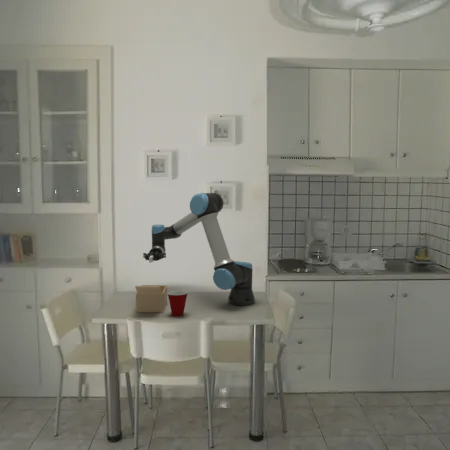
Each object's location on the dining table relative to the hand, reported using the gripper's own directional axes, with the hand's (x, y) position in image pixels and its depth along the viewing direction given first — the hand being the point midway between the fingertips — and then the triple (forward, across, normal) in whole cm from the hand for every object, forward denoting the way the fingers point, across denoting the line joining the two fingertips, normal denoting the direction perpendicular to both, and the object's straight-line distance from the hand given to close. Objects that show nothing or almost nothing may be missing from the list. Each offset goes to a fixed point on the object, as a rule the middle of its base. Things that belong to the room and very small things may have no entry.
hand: (150, 259), depth 244 cm
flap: (+5, 0, -16) cm, 17 cm away
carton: (-4, 0, -26) cm, 27 cm away
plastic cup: (+10, -14, -27) cm, 32 cm away
